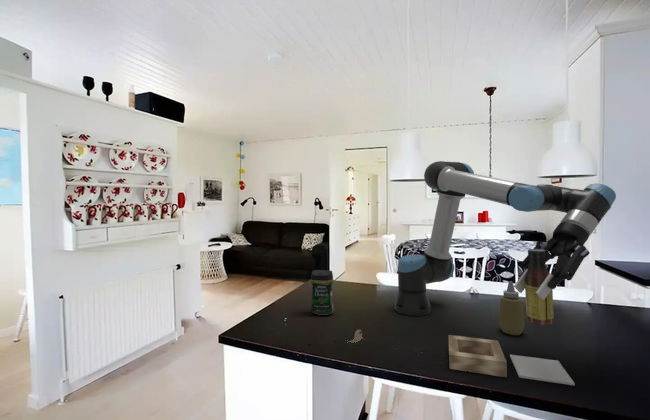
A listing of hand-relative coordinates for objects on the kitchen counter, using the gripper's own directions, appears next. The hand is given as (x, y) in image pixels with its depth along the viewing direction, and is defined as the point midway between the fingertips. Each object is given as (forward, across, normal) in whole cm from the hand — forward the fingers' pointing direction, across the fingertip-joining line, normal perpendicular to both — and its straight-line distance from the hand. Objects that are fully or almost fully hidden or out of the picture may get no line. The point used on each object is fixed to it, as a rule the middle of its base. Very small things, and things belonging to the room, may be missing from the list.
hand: (528, 292), depth 85 cm
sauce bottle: (+4, 0, -9) cm, 9 cm away
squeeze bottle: (+4, +23, -27) cm, 36 cm away
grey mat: (+13, 0, -18) cm, 22 cm away
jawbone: (+47, +36, +15) cm, 60 cm away
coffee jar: (+45, +62, +14) cm, 78 cm away
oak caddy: (+22, +9, -8) cm, 25 cm away
